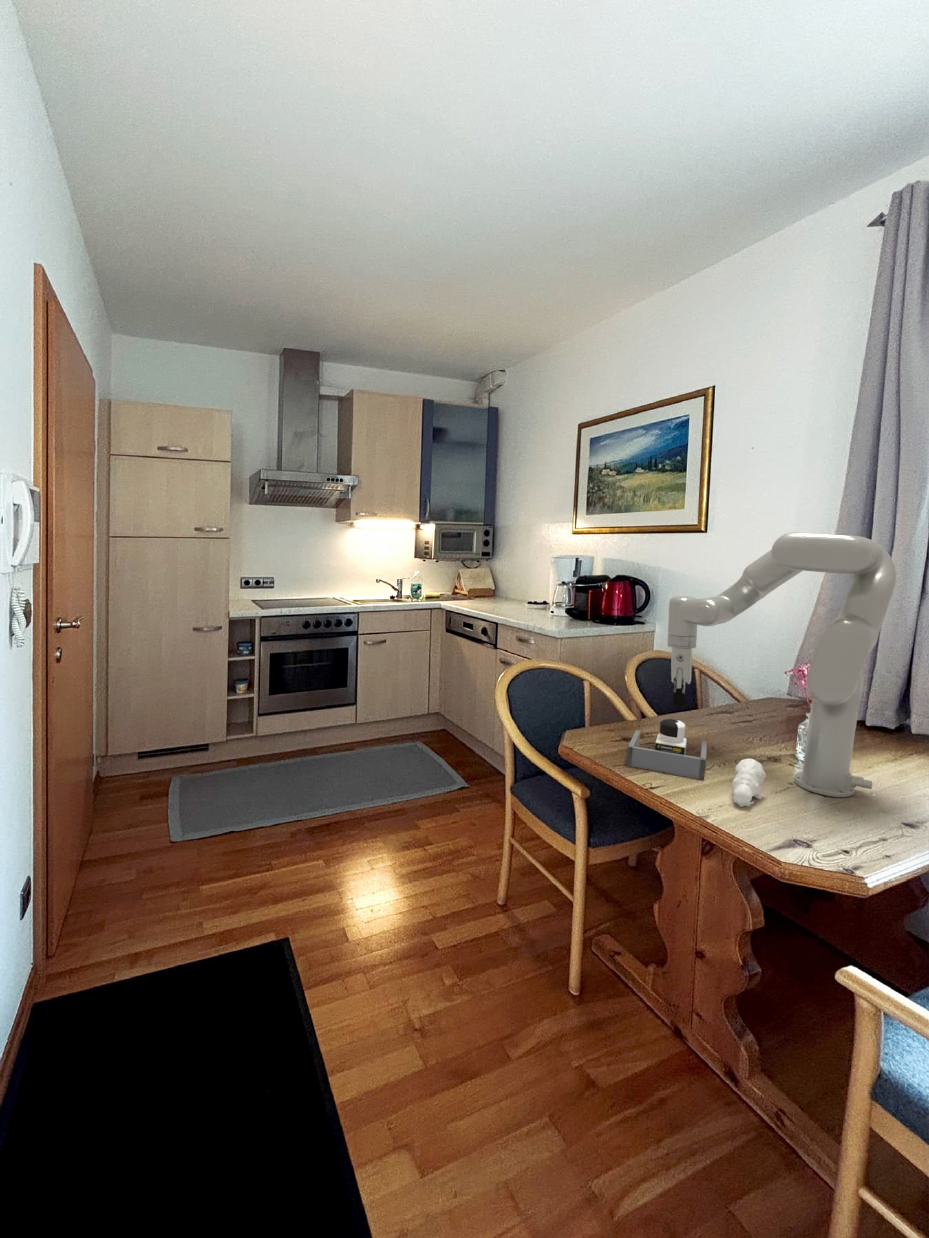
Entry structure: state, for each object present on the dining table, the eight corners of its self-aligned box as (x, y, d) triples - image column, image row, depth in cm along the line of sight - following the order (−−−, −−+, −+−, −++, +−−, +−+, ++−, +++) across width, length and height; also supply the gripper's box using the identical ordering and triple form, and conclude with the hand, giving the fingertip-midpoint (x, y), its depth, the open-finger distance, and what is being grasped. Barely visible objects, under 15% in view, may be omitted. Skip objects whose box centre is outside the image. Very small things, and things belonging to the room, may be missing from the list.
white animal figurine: (767, 759, 138) (759, 780, 128) (764, 793, 140) (755, 816, 130) (738, 752, 141) (727, 772, 131) (734, 786, 143) (724, 808, 133)
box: (705, 759, 160) (707, 741, 160) (703, 779, 146) (705, 760, 146) (634, 747, 167) (635, 729, 167) (626, 765, 153) (628, 746, 153)
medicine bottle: (652, 768, 153) (657, 722, 151) (655, 759, 159) (659, 715, 157) (682, 773, 150) (687, 727, 148) (684, 764, 156) (688, 719, 155)
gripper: (695, 645, 158) (692, 714, 160) (697, 638, 172) (694, 701, 174) (665, 644, 161) (662, 711, 163) (669, 637, 175) (666, 699, 177)
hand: (678, 706), depth 168 cm, fingers closed
